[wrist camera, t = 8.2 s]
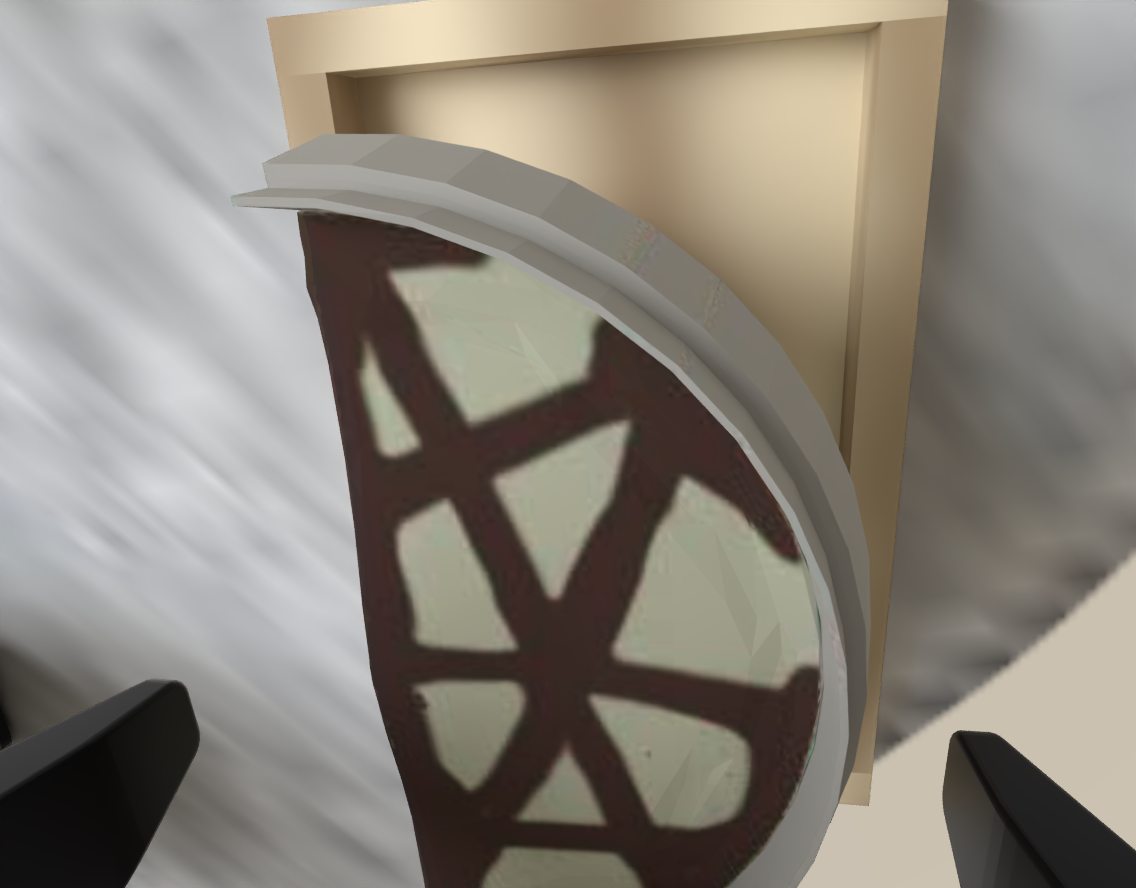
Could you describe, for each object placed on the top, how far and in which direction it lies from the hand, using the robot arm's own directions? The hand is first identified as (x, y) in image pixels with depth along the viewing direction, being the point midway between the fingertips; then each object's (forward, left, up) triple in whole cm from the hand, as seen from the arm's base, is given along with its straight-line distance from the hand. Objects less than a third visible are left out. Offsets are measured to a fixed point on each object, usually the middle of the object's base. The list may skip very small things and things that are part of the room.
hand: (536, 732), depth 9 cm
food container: (+1, 0, -10) cm, 10 cm away
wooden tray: (0, 0, -10) cm, 10 cm away
